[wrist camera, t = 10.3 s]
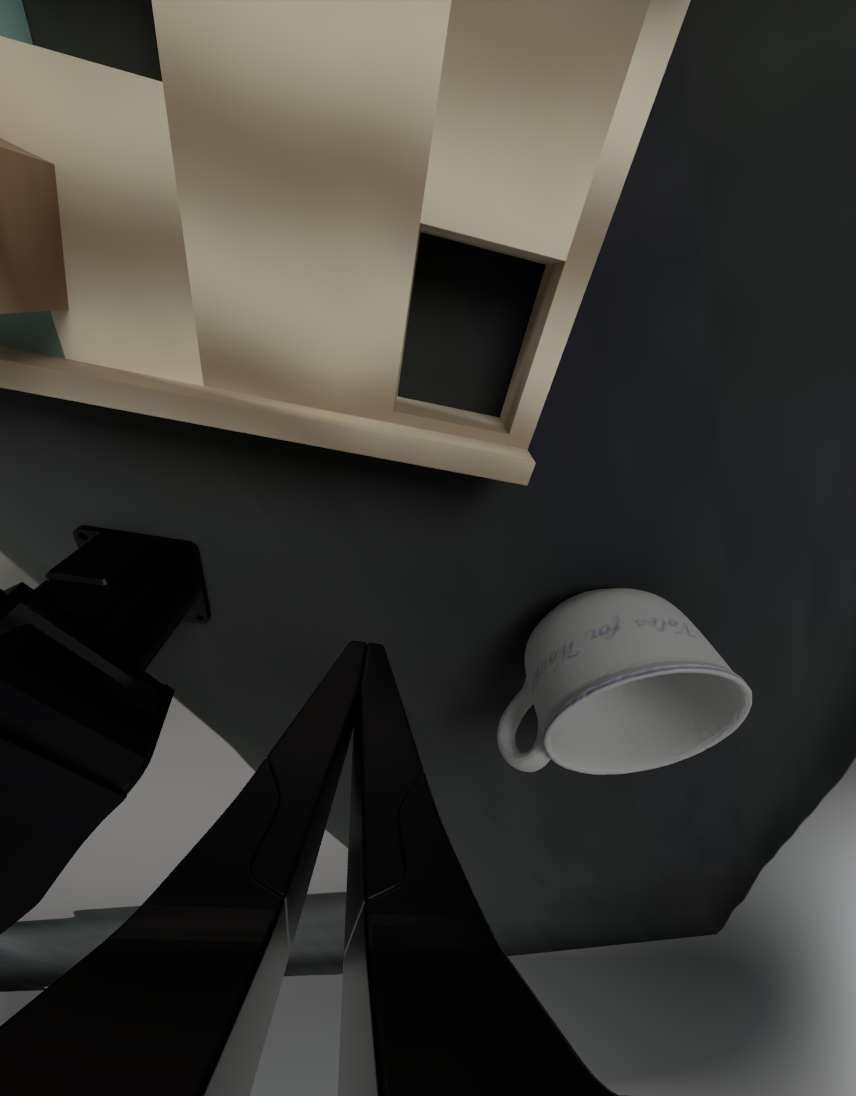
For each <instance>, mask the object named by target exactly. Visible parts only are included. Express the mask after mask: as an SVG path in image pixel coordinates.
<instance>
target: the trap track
mask: <svg viewBox="0 0 856 1096" xmlns="http://www.w3.org/2000/svg"><path fill="white" fill-rule="evenodd" d="M689 3H690V0H152V8H153V15H154V22H155V30H156V37H157V45H158V52H159V59H160V67H161V74H162V82H161V81H157V80H154V79H150V78H147V77H143V76H139V75H136V74H132V73H129V72H125V71H122V70H118V69H115V68H111V67H108V66H104V65H101V64H97V63H94V62H90V61H87V60H83V59H80V58H76V57H73V56H69V55H66V54H62V53H59V52H55V51H52V50H48V49H45V48H41V47H38V46H34V45H33V42H32V38H31V34H30V30H29V26H28V22H27V19H26V15H25V11H24V7H23V3H22V0H0V138H1V139H3V140H5V141H7V142H10V143H12V144H14V145H16V146H18V147H20V148H22V149H24V150H26V151H28V152H30V153H32V154H34V155H36V156H38V157H40V158H42V159H44V160H46V161H48V162H51V163H53V164H55V174H56V184H57V194H58V204H59V215H60V225H61V235H62V245H63V255H64V265H65V275H66V286H67V296H68V306H69V310H53V311H38V312H22V313H7V314H0V387H1V388H6V389H12V390H17V391H22V392H28V393H33V394H39V395H44V396H49V397H55V398H60V399H65V400H71V401H76V402H82V403H87V404H92V405H98V406H103V407H108V408H114V409H119V410H124V411H130V412H135V413H141V414H146V415H151V416H157V417H162V418H167V419H173V420H178V421H184V422H189V423H194V424H200V425H205V426H210V427H216V428H221V429H227V430H232V431H237V432H243V433H248V434H253V435H259V436H264V437H270V438H275V439H280V440H286V441H291V442H296V443H302V444H307V445H313V446H318V447H323V448H329V449H334V450H339V451H345V452H350V453H356V454H361V455H366V456H372V457H377V458H382V459H388V460H393V461H399V462H404V463H409V464H415V465H420V466H425V467H431V468H436V469H442V470H447V471H452V472H458V473H463V474H468V475H474V476H479V477H485V478H490V479H495V480H501V481H506V482H511V483H517V484H522V485H527V484H528V482H529V479H530V477H531V474H532V471H533V469H534V466H535V464H536V463H535V461H534V460H533V458H532V457H531V455H530V453H529V452H528V447H529V444H530V441H531V439H532V436H533V433H534V430H535V428H536V425H537V422H538V419H539V417H540V414H541V411H542V408H543V406H544V403H545V400H546V397H547V395H548V392H549V389H550V386H551V383H552V381H553V378H554V375H555V372H556V370H557V367H558V364H559V361H560V359H561V356H562V353H563V350H564V348H565V345H566V342H567V339H568V337H569V334H570V331H571V328H572V326H573V323H574V320H575V317H576V315H577V312H578V309H579V306H580V304H581V301H582V298H583V295H584V293H585V290H586V287H587V284H588V281H589V279H590V276H591V273H592V270H593V268H594V265H595V262H596V259H597V257H598V254H599V251H600V248H601V246H602V243H603V240H604V237H605V235H606V232H607V229H608V226H609V224H610V221H611V218H612V215H613V213H614V210H615V207H616V204H617V202H618V199H619V196H620V193H621V191H622V188H623V185H624V182H625V180H626V177H627V174H628V171H629V168H630V166H631V163H632V160H633V157H634V155H635V152H636V149H637V146H638V144H639V141H640V138H641V135H642V133H643V130H644V127H645V124H646V122H647V119H648V116H649V113H650V111H651V108H652V105H653V102H654V100H655V97H656V94H657V91H658V89H659V86H660V83H661V80H662V78H663V75H664V72H665V69H666V66H667V64H668V61H669V58H670V55H671V53H672V50H673V47H674V44H675V42H676V39H677V36H678V33H679V31H680V28H681V25H682V22H683V20H684V17H685V14H686V11H687V9H688V6H689ZM421 232H422V233H426V234H430V235H434V236H438V237H442V238H446V239H449V240H453V241H457V242H461V243H465V244H469V245H472V246H476V247H480V248H484V249H488V250H492V251H495V252H499V253H503V254H507V255H511V256H515V257H519V258H522V259H526V260H530V261H534V262H538V263H542V264H545V265H546V267H545V270H544V273H543V277H542V280H541V283H540V286H539V290H538V293H537V296H536V300H535V303H534V306H533V310H532V313H531V316H530V319H529V323H528V326H527V329H526V333H525V336H524V339H523V342H522V346H521V349H520V352H519V356H518V359H517V362H516V366H515V369H514V372H513V375H512V379H511V382H510V385H509V389H508V392H507V395H506V399H505V402H504V405H503V408H502V412H501V415H500V418H499V417H494V416H489V415H484V414H480V413H475V412H470V411H465V410H460V409H455V408H450V407H446V406H441V405H436V404H431V403H426V402H421V401H417V400H412V399H407V398H402V397H397V393H398V386H399V380H400V373H401V366H402V359H403V352H404V345H405V338H406V331H407V324H408V317H409V310H410V303H411V296H412V290H413V283H414V276H415V269H416V262H417V255H418V248H419V241H420V234H421Z"/></svg>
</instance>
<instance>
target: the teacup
mask: <svg viewBox="0 0 856 1096" xmlns="http://www.w3.org/2000/svg"><path fill="white" fill-rule="evenodd" d="M525 670H526V678H525V681H524V685H523V687H522V689H521V690H520V691H519V692H518V693H517V695H516V696H515V697H514V699H513V700H512V701H511V703H510V704H509V705H508V707H507V708H506V710H505V712H504V713H503V715H502V717H501V719H500V722H499V725H498V730H497V742H498V746H499V750H500V752H501V754H502V756H503V757H504V759H505V760H506V761H507V762H508V763H509V764H510V765H511V766H513V767H514V768H516V769H518V770H521V771H525V772H534V771H537V770H539V769H541V768H543V767H544V766H545V765H546V764H547V763H548V762H549V760H550V759H552V760H553V761H554V762H556V763H557V764H559V765H560V766H562V767H564V768H567V769H570V770H574V771H577V772H582V773H588V774H595V775H596V774H602V775H605V774H625V773H630V772H638V771H643V770H649V769H654V768H658V767H662V766H666V765H669V764H672V763H675V762H678V761H680V760H683V759H686V758H689V757H691V756H693V755H696V754H698V753H700V752H703V751H704V750H705V749H707V748H709V747H711V746H713V745H715V744H717V743H718V742H720V741H721V740H723V739H724V738H726V737H727V736H728V735H730V734H731V733H732V732H733V731H734V730H736V729H737V728H738V727H739V725H740V724H741V723H742V722H743V721H744V719H745V718H746V716H747V715H748V713H749V710H750V707H751V705H752V691H751V690H750V688H749V687H748V685H747V684H746V682H745V681H744V680H743V679H742V678H741V677H740V676H738V675H737V674H735V673H734V672H733V671H732V670H731V669H730V667H729V666H728V665H727V664H726V662H725V661H724V660H723V659H722V658H721V656H720V655H719V654H718V653H717V651H716V650H715V649H714V648H713V646H712V645H711V644H710V643H709V642H708V641H707V639H706V638H705V637H704V636H703V635H702V634H701V632H700V631H699V630H698V629H697V628H696V627H695V626H694V625H693V623H692V622H691V621H690V620H689V619H688V618H687V617H686V616H685V615H684V614H683V613H682V612H681V611H680V610H679V609H677V608H676V607H675V606H674V605H672V604H671V603H669V602H668V601H666V600H665V599H663V598H661V597H659V596H657V595H655V594H652V593H649V592H645V591H641V590H637V589H628V588H612V589H600V590H593V591H588V592H584V593H581V594H578V595H576V596H573V597H571V598H569V599H567V600H565V601H564V602H562V603H560V604H559V605H558V606H556V607H555V608H554V609H553V610H552V611H551V612H549V613H548V615H546V616H545V617H544V618H543V619H542V620H541V621H540V622H539V624H538V625H537V626H536V627H535V629H534V630H533V632H532V634H531V635H530V638H529V640H528V643H527V646H526V650H525ZM533 704H534V707H535V710H536V714H537V717H538V734H537V739H536V741H535V744H534V745H533V747H532V748H531V749H530V750H529V751H527V752H525V753H520V752H519V751H518V749H517V747H516V744H515V734H516V730H517V727H518V725H519V723H520V721H521V719H522V718H523V716H524V715H525V713H526V712H527V710H528V709H529V708H530V707H531V706H532V705H533Z"/></svg>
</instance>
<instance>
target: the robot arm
mask: <svg viewBox="0 0 856 1096" xmlns="http://www.w3.org/2000/svg"><path fill="white" fill-rule="evenodd" d="M73 536H74V538H75V540H76V543H77V545H78V548H79V549H78V550H76V551H75V552H74V553H72V554H71V555H70V556H68V557H67V558H66V559H64V560H63V561H62V562H60V563H59V564H58V565H56V566H55V567H54V568H53V569H51V570H50V571H49V572H47V573H46V575H45V577H46V579H47V580H46V581H45V582H43V583H42V584H41V585H39V586H38V587H37V588H35V589H34V590H33V589H32V588H30V587H29V586H28V585H26V584H25V583H23V582H21V583H19V584H17V585H15V586H12V587H10V588H8V589H6V590H4V591H3V590H1V589H0V934H1V933H3V932H4V931H6V930H7V929H8V928H9V927H11V926H12V925H13V924H14V923H15V922H17V921H18V920H19V919H20V918H22V917H23V916H24V915H25V914H26V913H28V912H29V911H30V910H31V909H32V908H34V907H35V906H36V905H37V904H38V903H39V902H40V901H41V899H42V898H43V896H44V895H45V894H46V892H47V891H48V889H49V888H50V887H51V886H52V884H53V883H54V881H55V880H56V878H57V877H58V876H59V874H60V873H61V872H62V870H63V869H64V867H65V866H66V865H67V863H68V862H69V861H70V859H71V858H72V857H73V855H74V854H75V853H76V851H77V850H78V849H79V847H80V846H81V845H82V843H83V842H84V841H85V840H86V839H87V838H88V837H89V835H90V834H91V833H92V832H93V831H94V830H95V829H96V827H97V826H98V825H99V824H100V823H101V822H102V821H103V820H104V819H105V818H106V817H107V816H108V815H109V814H110V813H111V812H112V811H113V810H114V809H115V808H116V807H117V806H118V805H119V804H121V803H122V802H123V801H124V799H125V798H126V796H127V794H128V793H129V791H130V790H131V789H132V788H133V787H134V786H135V784H136V783H137V782H138V780H139V779H140V777H141V776H142V775H143V773H144V771H145V769H146V768H147V766H148V764H149V762H150V760H151V758H152V755H153V752H154V749H155V746H156V744H157V741H158V738H159V735H160V732H161V729H162V726H163V723H164V720H165V717H166V715H167V712H168V708H169V705H170V703H171V700H172V697H173V694H174V691H175V690H174V689H172V688H171V687H170V686H168V685H167V684H166V685H163V684H162V683H161V682H159V681H158V680H156V679H155V678H154V677H152V676H151V675H149V674H148V673H146V672H145V669H146V668H147V667H148V665H149V664H150V663H151V661H152V660H153V658H154V657H155V656H156V654H157V653H158V652H159V650H160V649H161V647H162V646H163V645H164V643H165V642H166V641H167V639H168V638H169V637H170V635H171V634H172V632H173V631H174V630H175V628H176V627H177V626H178V624H179V623H180V622H181V621H189V622H197V623H205V622H207V621H208V619H209V618H210V615H211V614H210V609H209V603H208V598H207V593H206V587H205V582H204V577H203V571H202V566H201V561H200V555H199V550H198V547H197V546H196V545H195V544H194V543H192V542H190V541H185V540H178V539H172V538H165V537H158V536H152V535H145V534H139V533H132V532H125V531H119V530H112V529H105V528H99V527H92V526H86V525H82V526H80V527H78V528H77V529H75V530H74V531H73ZM186 549H188V550H189V551H188V550H186ZM366 647H367V648H366ZM365 653H366V654H365ZM364 660H365V661H364ZM363 666H364V667H363ZM362 672H363V673H362ZM361 678H362V679H361ZM359 691H360V692H359ZM358 697H359V698H358ZM357 703H358V704H357ZM356 709H357V710H356ZM355 716H356V717H355ZM354 721H355V724H354ZM353 727H354V733H353V752H352V776H351V799H350V823H349V846H348V869H347V871H348V872H347V893H346V916H345V939H344V956H345V957H344V962H343V986H342V1010H341V1032H340V1055H339V1079H338V1080H339V1081H338V1096H624V1095H617V1094H615V1093H614V1092H612V1091H610V1090H609V1089H608V1088H606V1087H605V1086H604V1085H603V1084H602V1083H601V1082H600V1081H599V1080H598V1079H597V1078H595V1076H594V1075H593V1074H592V1073H591V1071H590V1070H589V1069H588V1068H587V1067H586V1065H585V1064H584V1063H583V1062H582V1060H581V1059H580V1058H579V1056H578V1055H577V1053H576V1052H575V1050H574V1049H573V1048H572V1046H571V1045H570V1043H569V1042H568V1041H567V1039H566V1038H565V1036H564V1035H563V1034H562V1033H561V1031H560V1029H559V1028H558V1027H557V1025H556V1024H555V1022H554V1021H553V1020H552V1018H551V1017H550V1016H549V1014H548V1013H547V1011H546V1010H545V1008H544V1007H543V1006H542V1004H541V1003H540V1002H539V1000H538V998H537V997H536V996H535V994H534V993H533V991H532V990H531V989H530V987H529V986H528V985H527V983H526V982H525V980H524V979H523V978H522V976H521V975H520V973H519V972H518V971H517V969H516V968H515V967H514V965H513V963H512V962H511V961H510V959H509V958H508V956H507V955H506V954H505V952H504V951H503V949H502V947H501V946H500V944H499V942H498V941H497V939H496V937H495V935H494V934H493V932H492V930H491V928H490V926H489V924H488V922H487V920H486V918H485V916H484V914H483V912H482V910H481V908H480V906H479V904H478V901H477V899H476V897H475V895H474V892H473V890H472V888H471V886H470V884H469V881H468V879H467V877H466V875H465V873H464V870H463V868H462V866H461V864H460V861H459V859H458V857H457V855H456V853H455V850H454V848H453V846H452V844H451V841H450V839H449V837H448V834H447V832H446V829H445V827H444V825H443V822H442V820H441V817H440V815H439V812H438V810H437V807H436V804H435V801H434V798H433V795H432V793H431V790H430V787H429V784H428V781H427V778H426V774H425V773H423V771H424V769H423V766H422V763H421V759H420V756H419V753H418V750H417V747H416V744H415V741H414V738H413V735H412V732H411V729H410V725H409V722H408V719H407V716H406V713H405V710H404V707H403V704H402V701H401V698H400V695H399V691H398V688H397V685H396V682H395V679H394V676H393V673H392V670H391V667H390V664H389V661H388V657H387V654H386V651H385V648H384V646H383V645H381V644H375V643H369V644H366V643H365V642H359V641H351V642H350V643H349V644H348V646H347V647H346V648H345V650H344V651H343V652H342V654H341V655H340V657H339V658H338V659H337V661H336V662H335V663H334V665H333V666H332V668H331V669H330V670H329V672H328V673H327V675H326V676H325V677H324V679H323V680H322V681H321V683H320V684H319V686H318V687H317V688H316V690H315V691H314V692H313V694H312V695H311V697H310V698H309V699H308V701H307V702H306V704H305V705H304V706H303V708H302V709H301V710H300V712H299V713H298V715H297V716H296V717H295V719H294V720H293V721H292V723H291V724H290V726H289V727H288V728H287V730H286V731H285V733H284V734H283V735H282V737H281V738H280V739H279V741H278V742H277V744H276V745H275V746H274V748H273V749H272V751H271V752H270V753H269V755H268V756H267V758H268V759H265V760H264V761H263V763H262V764H261V765H260V767H259V768H258V770H257V771H256V772H255V774H254V775H253V776H252V778H251V779H250V780H249V782H248V783H247V784H246V786H245V787H244V788H243V790H242V791H241V792H240V793H239V795H238V796H237V797H236V799H235V800H234V801H233V802H232V803H231V805H230V806H229V807H228V808H227V809H226V811H225V812H224V813H223V814H222V815H221V816H220V818H219V819H218V820H217V821H216V822H215V824H214V825H213V826H212V827H211V828H210V829H209V830H208V832H207V833H206V834H205V835H204V836H203V837H202V838H201V839H200V841H199V842H198V843H197V844H196V845H195V846H194V847H193V848H192V850H191V851H190V852H189V853H188V854H187V855H186V856H185V858H184V859H183V860H182V861H181V862H180V863H179V864H178V865H177V867H176V868H175V869H174V870H173V871H172V872H171V873H170V874H169V876H168V877H167V878H166V879H165V880H164V881H163V882H162V883H161V885H160V886H159V887H158V888H157V889H156V890H155V892H154V893H153V894H152V895H151V896H150V897H149V898H148V899H147V900H146V901H145V902H144V903H143V905H141V907H140V908H139V909H138V910H137V911H136V912H135V913H134V914H133V915H132V916H131V917H130V918H129V919H128V920H127V921H126V922H125V923H124V924H123V925H122V926H121V927H119V928H118V929H117V930H116V931H115V932H114V933H113V934H112V935H111V936H110V937H109V938H107V939H106V940H105V941H104V942H103V943H102V944H100V945H99V946H98V947H97V948H95V949H94V950H93V951H92V952H91V953H89V954H88V955H87V956H86V957H84V958H83V959H82V960H81V961H80V962H78V963H77V964H76V965H75V966H73V967H72V968H71V969H70V970H69V971H67V972H66V973H65V974H64V975H62V976H61V977H60V978H59V979H58V980H56V981H55V982H54V983H53V984H51V985H50V986H49V987H48V988H47V989H45V990H44V991H43V992H42V993H40V994H39V995H38V996H37V997H36V998H34V999H33V1000H32V1001H31V1002H29V1003H28V1004H27V1005H26V1006H25V1007H23V1008H22V1009H21V1010H20V1011H18V1012H17V1013H16V1014H15V1015H14V1016H12V1017H11V1018H10V1019H9V1020H8V1021H6V1022H5V1023H4V1024H3V1025H2V1026H0V1096H249V1095H250V1092H251V1089H252V1085H253V1081H254V1078H255V1074H256V1071H257V1067H258V1063H259V1060H260V1057H261V1053H262V1050H263V1046H264V1043H265V1039H266V1036H267V1032H268V1028H269V1025H270V1021H271V1018H272V1014H273V1011H274V1007H275V1004H276V1000H277V997H278V993H279V990H280V986H281V983H282V979H283V976H284V972H285V969H286V965H287V962H288V955H289V954H290V951H291V947H292V944H293V940H294V937H295V933H296V930H297V926H298V923H299V919H300V916H301V912H302V908H303V905H304V901H305V898H306V894H307V891H308V887H309V884H310V880H311V876H312V873H313V870H314V866H315V863H316V859H317V856H318V852H319V848H320V845H321V841H322V838H323V834H324V831H325V827H326V824H327V820H328V817H329V813H330V810H331V806H332V803H333V799H334V796H335V792H336V788H337V785H338V781H339V778H340V774H341V771H342V767H343V764H344V760H345V757H346V753H347V750H348V746H349V743H350V739H351V735H352V731H353ZM625 1096H627V1095H625Z"/></svg>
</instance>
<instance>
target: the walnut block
mask: <svg viewBox="0 0 856 1096" xmlns="http://www.w3.org/2000/svg"><path fill="white" fill-rule="evenodd" d="M53 310H69V306H68V296H67V286H66V275H65V265H64V255H63V245H62V235H61V225H60V215H59V204H58V194H57V184H56V174H55V164H53V163H51V162H48V161H46V160H44V159H42V158H40V157H38V156H36V155H34V154H32V153H30V152H28V151H26V150H24V149H22V148H20V147H18V146H16V145H14V144H12V143H10V142H7V141H5V140H3V139H1V138H0V314H7V313H22V312H38V311H53Z"/></svg>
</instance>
